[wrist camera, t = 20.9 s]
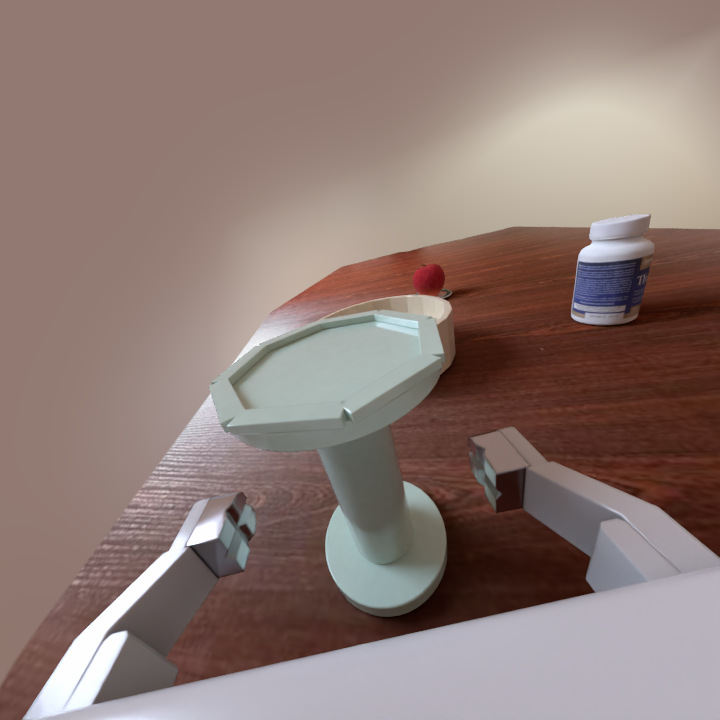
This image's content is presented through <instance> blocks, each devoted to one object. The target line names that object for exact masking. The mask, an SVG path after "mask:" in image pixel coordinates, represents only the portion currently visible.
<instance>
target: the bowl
mask: <svg viewBox="0 0 720 720" xmlns="http://www.w3.org/2000/svg"><path fill="white" fill-rule="evenodd" d="M374 310H378V311H380V310H389V311H397V312H404V313H411V314H418V315H425V316H431V317H432V318H435V319H436V323H437V327H438V331H439V334H440V338H441V342H442V345H443V349H444V353H445V363H442V370H441V374H442V373H443V372H444V371H445V370H446V369H447V368H448V367H449V366H450V365H451V363H452V361H453V358H454V356H455V353H456V352H455V338H454V325H453V311H452V307H451V305H450V303H449V301H446V300H444V299H442V298H440V297H435V296H428V295H403V296H394V297H387V298H382V299H376V300H371V301H367V302H363V303H360V304H356V305H353V306H350V307H347V308H344V309H341V310H338V311H336V312H334V313H332V314H330V315H327V316H325V317H323V318H321V319H320V320H323V319H328V318H334V317H340V316H345V315H351V314H357V313H362V312H368V311H374ZM320 320H318V321H317V322H319V321H320ZM441 374H440V375H441Z"/></svg>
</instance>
